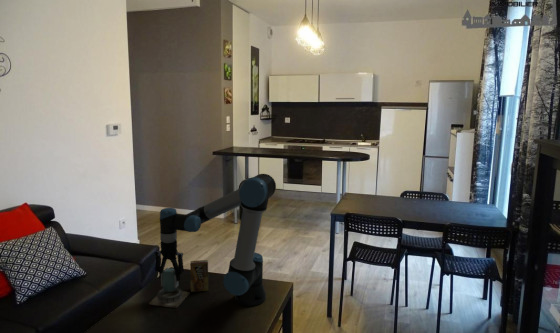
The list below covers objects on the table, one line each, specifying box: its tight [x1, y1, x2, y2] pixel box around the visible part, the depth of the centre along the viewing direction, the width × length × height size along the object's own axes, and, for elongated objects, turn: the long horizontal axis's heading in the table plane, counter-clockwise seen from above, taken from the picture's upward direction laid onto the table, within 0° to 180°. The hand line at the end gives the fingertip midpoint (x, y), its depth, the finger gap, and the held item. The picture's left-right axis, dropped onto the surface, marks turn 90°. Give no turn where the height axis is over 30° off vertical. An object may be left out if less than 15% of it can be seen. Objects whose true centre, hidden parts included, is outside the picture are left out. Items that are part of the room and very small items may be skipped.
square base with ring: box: [148, 286, 191, 309], centre depth 184 cm, size 14×14×4 cm
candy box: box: [190, 259, 209, 293], centre depth 193 cm, size 9×4×15 cm, turn 103°
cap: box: [162, 267, 177, 292], centre depth 183 cm, size 6×6×10 cm
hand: (169, 285), depth 183 cm, fingers closed on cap, 6 cm apart
